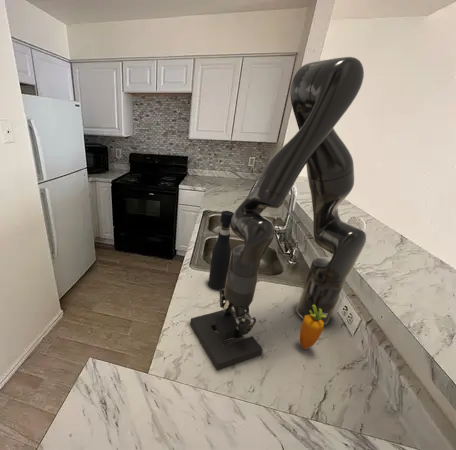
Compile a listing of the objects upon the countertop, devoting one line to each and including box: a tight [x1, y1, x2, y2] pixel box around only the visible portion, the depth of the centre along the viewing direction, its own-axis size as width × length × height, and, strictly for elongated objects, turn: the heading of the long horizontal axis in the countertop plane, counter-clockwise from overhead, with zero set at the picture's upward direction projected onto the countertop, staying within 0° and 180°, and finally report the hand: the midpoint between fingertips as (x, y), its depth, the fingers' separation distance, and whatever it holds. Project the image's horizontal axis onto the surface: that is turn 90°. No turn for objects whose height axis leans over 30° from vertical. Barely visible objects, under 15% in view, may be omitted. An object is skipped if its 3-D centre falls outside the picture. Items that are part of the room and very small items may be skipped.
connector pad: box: [215, 314, 249, 342], centre depth 74 cm, size 8×5×4 cm, turn 109°
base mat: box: [189, 309, 264, 371], centre depth 74 cm, size 14×16×2 cm
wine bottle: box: [208, 210, 234, 292], centre depth 90 cm, size 6×6×30 cm
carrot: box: [299, 305, 326, 350], centre depth 69 cm, size 5×5×15 cm
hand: (231, 329), depth 74 cm, fingers closed on connector pad, 5 cm apart
